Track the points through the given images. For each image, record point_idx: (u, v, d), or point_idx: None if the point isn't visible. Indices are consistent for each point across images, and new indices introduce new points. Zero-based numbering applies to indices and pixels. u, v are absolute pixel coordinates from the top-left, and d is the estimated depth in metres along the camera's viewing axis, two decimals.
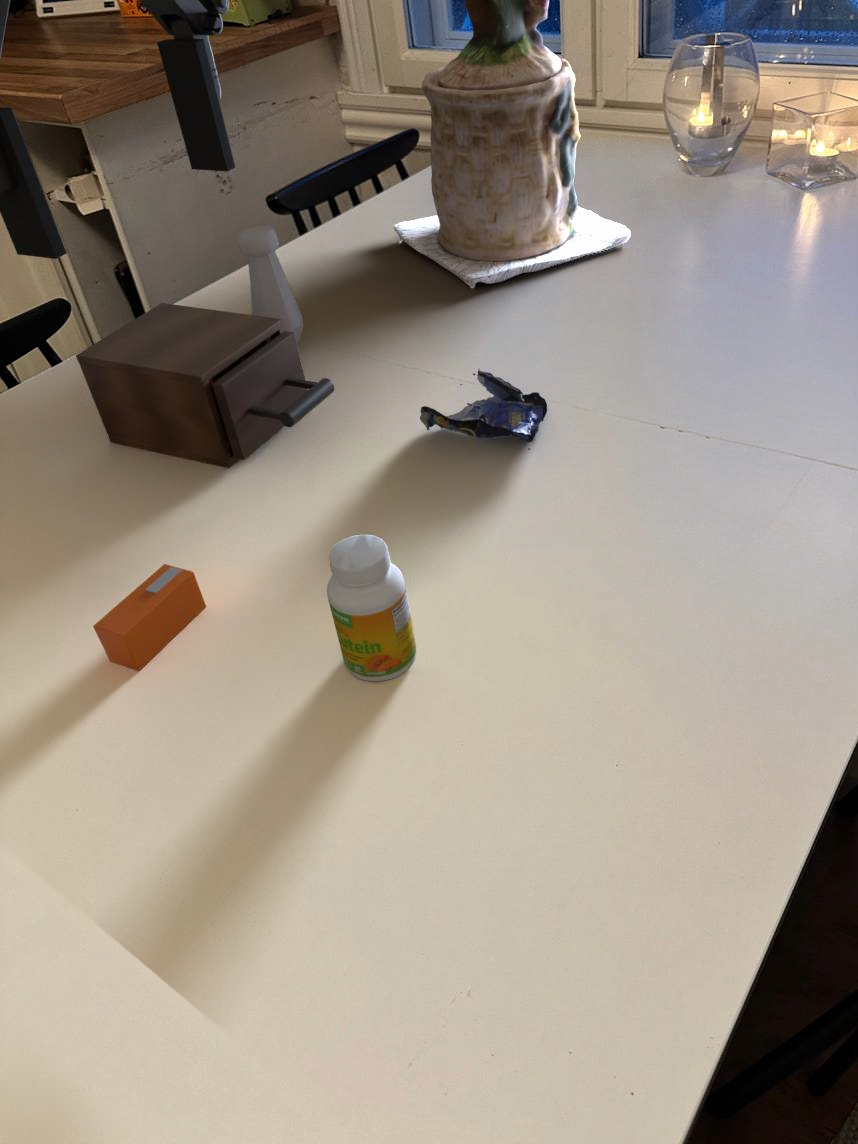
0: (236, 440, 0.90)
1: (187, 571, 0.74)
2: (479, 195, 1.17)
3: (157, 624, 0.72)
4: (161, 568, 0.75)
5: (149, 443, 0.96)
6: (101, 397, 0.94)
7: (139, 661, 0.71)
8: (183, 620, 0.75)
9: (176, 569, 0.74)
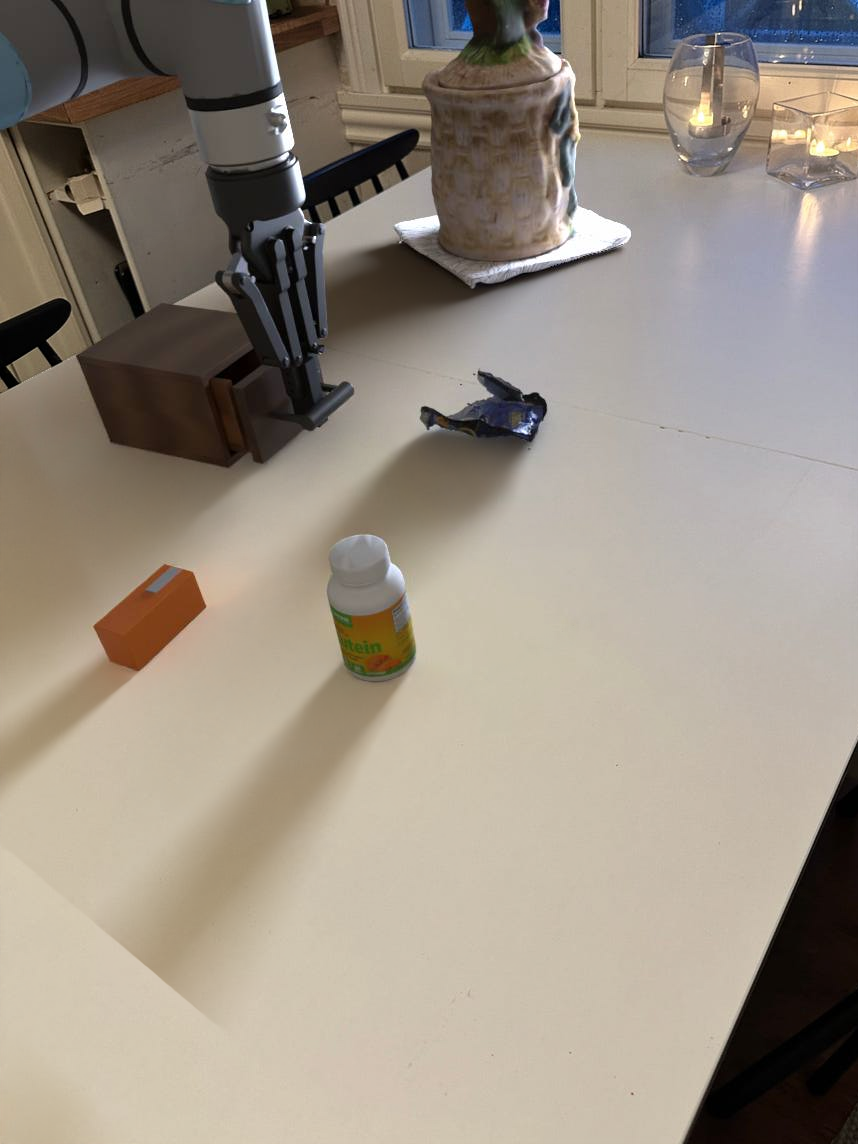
0: (256, 444, 0.89)
1: (187, 571, 0.74)
2: (479, 196, 1.17)
3: (157, 624, 0.72)
4: (161, 568, 0.75)
5: (149, 443, 0.96)
6: (101, 397, 0.94)
7: (139, 661, 0.71)
8: (183, 620, 0.75)
9: (176, 569, 0.74)
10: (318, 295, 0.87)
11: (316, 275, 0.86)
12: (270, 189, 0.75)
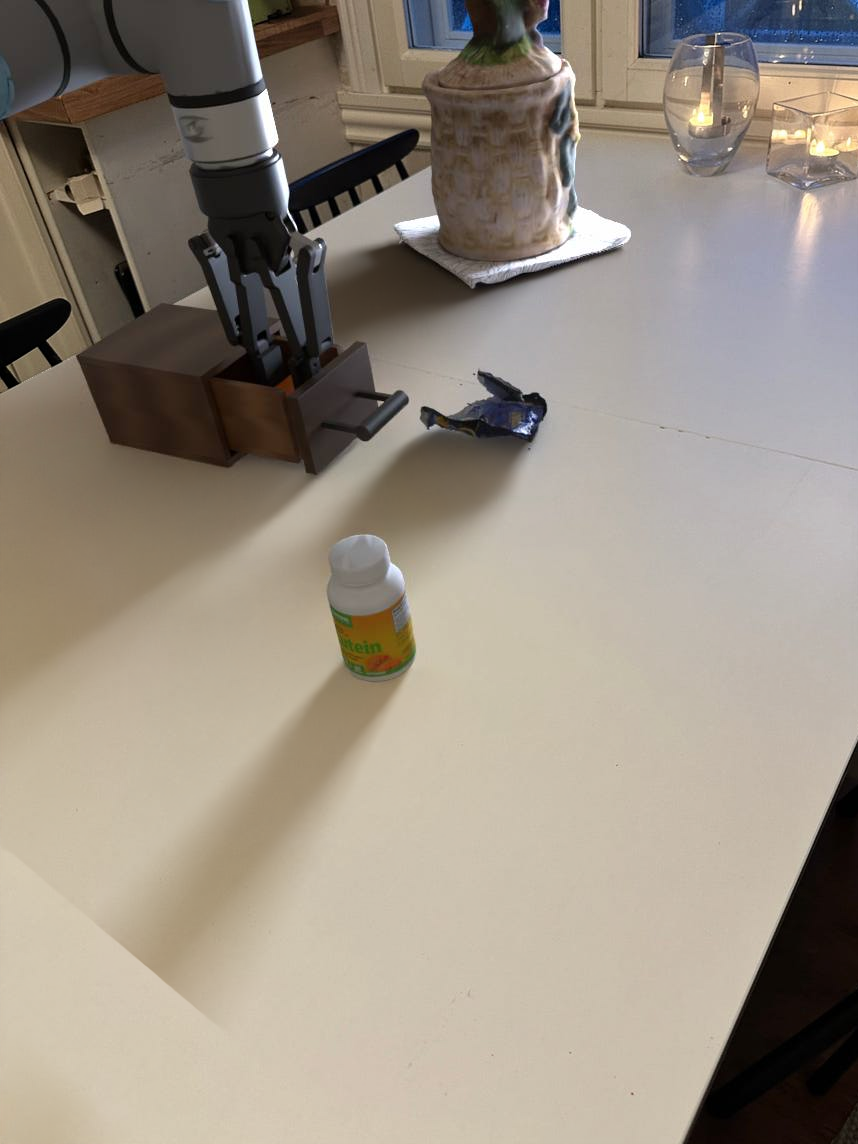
0: (309, 455, 0.87)
1: None
2: (479, 196, 1.17)
3: None
4: None
5: (149, 443, 0.96)
6: (101, 397, 0.94)
7: None
8: None
9: None
10: (303, 314, 0.83)
11: (300, 295, 0.82)
12: (194, 186, 0.77)
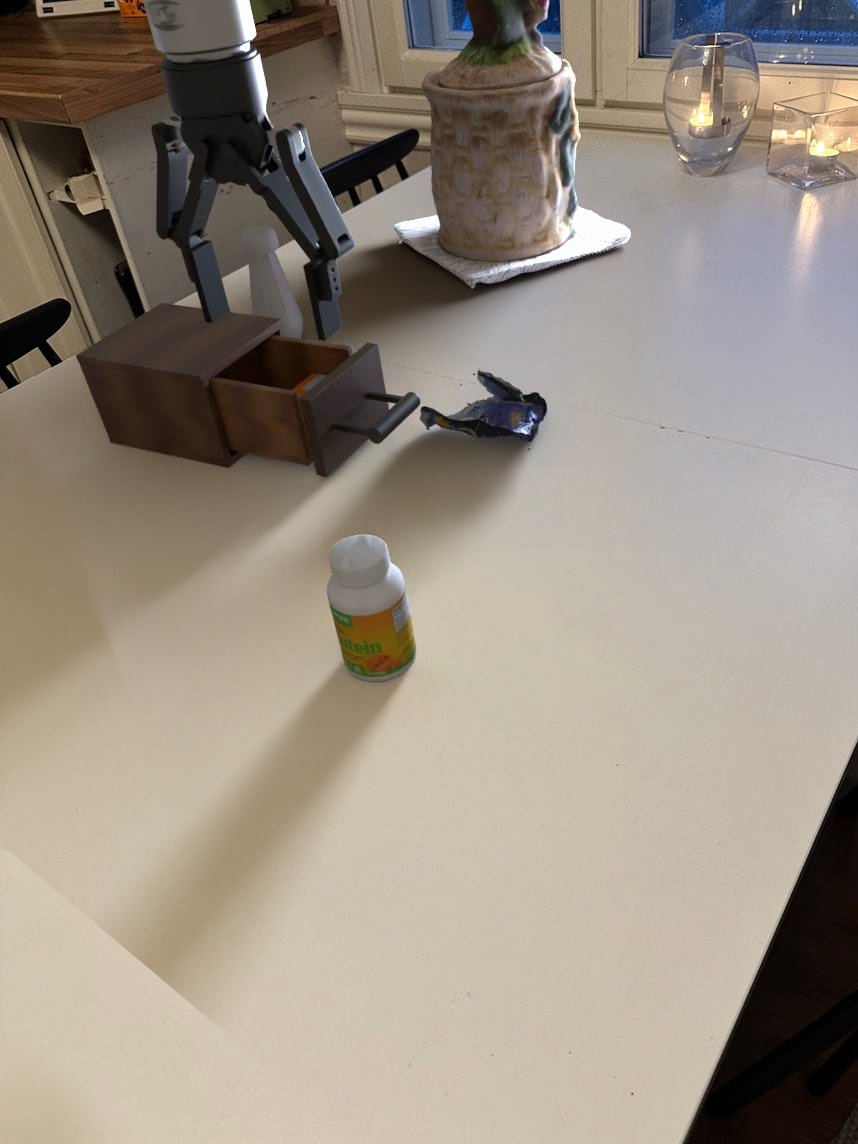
0: (320, 457, 0.86)
1: None
2: (479, 196, 1.17)
3: None
4: (311, 375, 0.93)
5: (149, 443, 0.96)
6: (101, 397, 0.94)
7: None
8: None
9: (324, 375, 0.93)
10: (307, 213, 0.76)
11: (296, 192, 0.75)
12: (165, 82, 0.72)
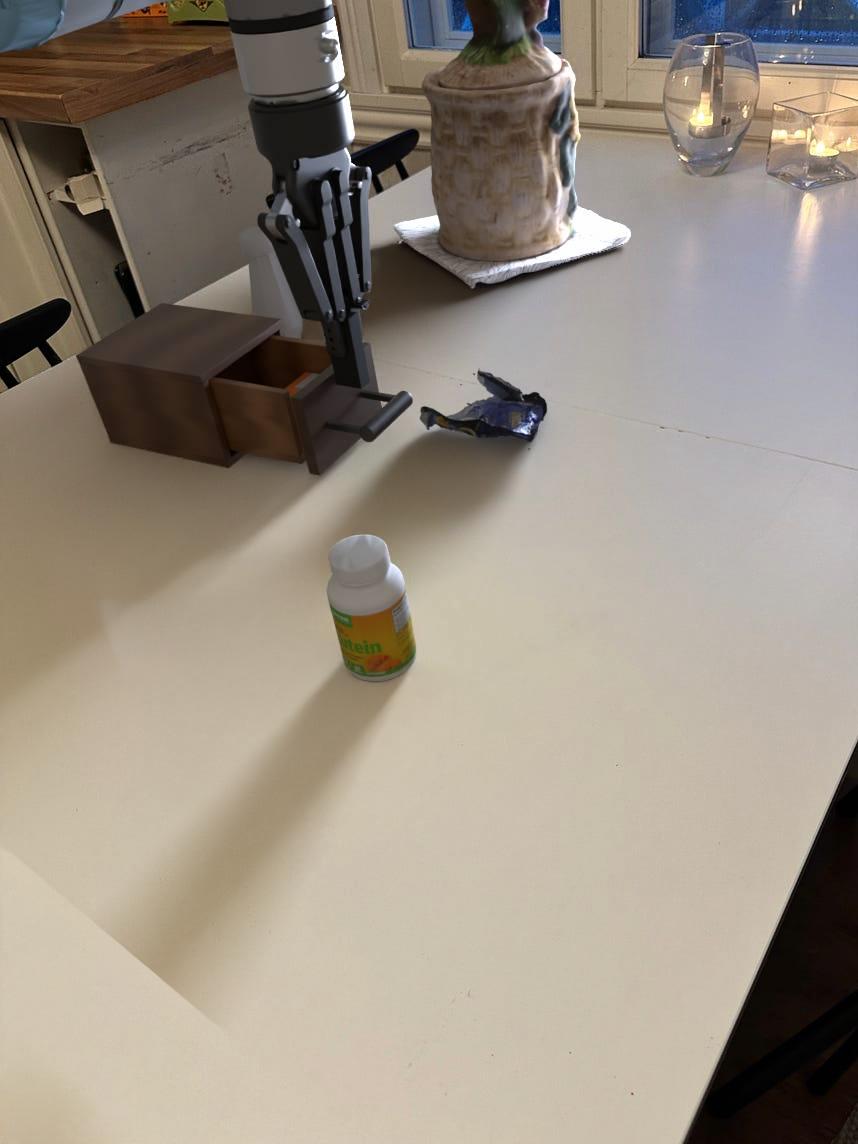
0: (313, 455, 0.87)
1: None
2: (479, 196, 1.17)
3: None
4: (304, 374, 0.93)
5: (149, 443, 0.96)
6: (101, 397, 0.94)
7: None
8: None
9: (317, 374, 0.93)
10: (363, 245, 0.81)
11: (361, 223, 0.80)
12: (319, 122, 0.69)
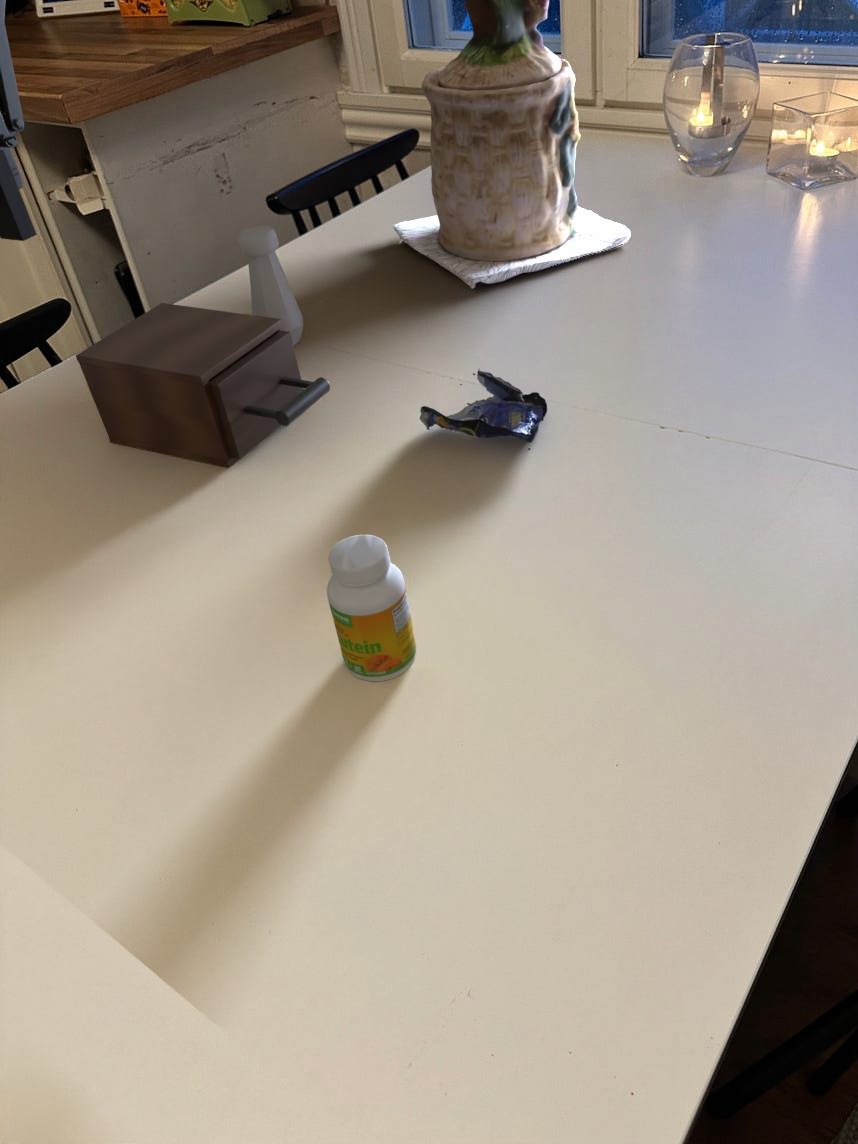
0: (232, 439, 0.90)
1: None
2: (479, 196, 1.17)
3: None
4: None
5: (149, 443, 0.96)
6: (101, 397, 0.94)
7: None
8: None
9: None
10: (3, 74, 0.74)
11: None
12: None
